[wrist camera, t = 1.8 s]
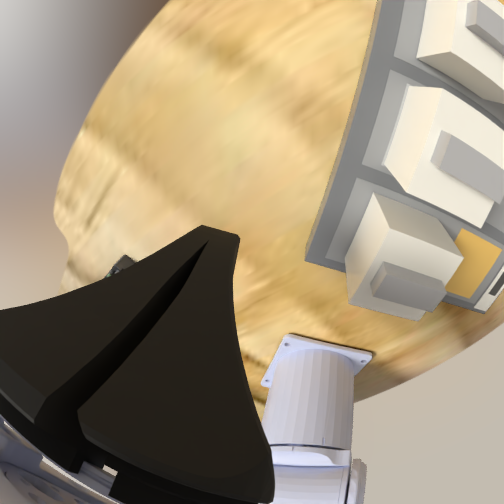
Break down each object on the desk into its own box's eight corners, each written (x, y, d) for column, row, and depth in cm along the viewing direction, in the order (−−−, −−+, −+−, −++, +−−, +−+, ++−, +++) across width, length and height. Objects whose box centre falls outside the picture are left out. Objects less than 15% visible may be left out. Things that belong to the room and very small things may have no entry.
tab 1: (482, 99, 7) (537, 114, 4) (416, 58, 8) (461, 49, 4) (493, 37, 5) (545, 34, 1) (427, -7, 5) (467, -33, 2)
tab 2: (449, 194, 11) (489, 239, 7) (384, 164, 11) (412, 201, 7) (475, 124, 8) (528, 148, 5) (409, 86, 8) (453, 89, 5)
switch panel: (477, 300, 15) (484, 314, 14) (305, 246, 16) (304, 261, 15) (563, 109, 5) (577, 114, 4) (382, -27, 6) (388, -38, 5)
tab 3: (404, 276, 14) (421, 333, 10) (344, 257, 14) (349, 317, 11) (437, 218, 11) (470, 269, 8) (373, 192, 12) (394, 239, 8)
